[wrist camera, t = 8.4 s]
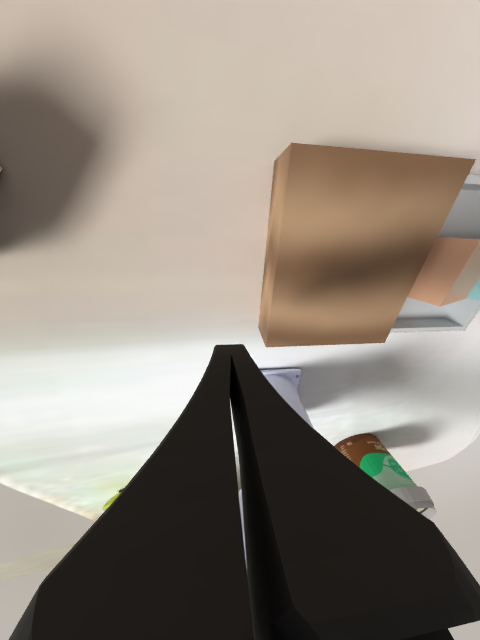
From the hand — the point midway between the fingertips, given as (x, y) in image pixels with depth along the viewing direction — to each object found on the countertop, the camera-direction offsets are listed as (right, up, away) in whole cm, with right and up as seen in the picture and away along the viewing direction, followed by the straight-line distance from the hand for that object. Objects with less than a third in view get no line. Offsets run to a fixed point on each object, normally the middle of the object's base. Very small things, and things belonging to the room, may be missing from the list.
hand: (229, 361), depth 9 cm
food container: (+23, -20, +25) cm, 40 cm away
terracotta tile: (+18, +7, +8) cm, 21 cm away
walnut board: (+9, +7, +8) cm, 14 cm away
